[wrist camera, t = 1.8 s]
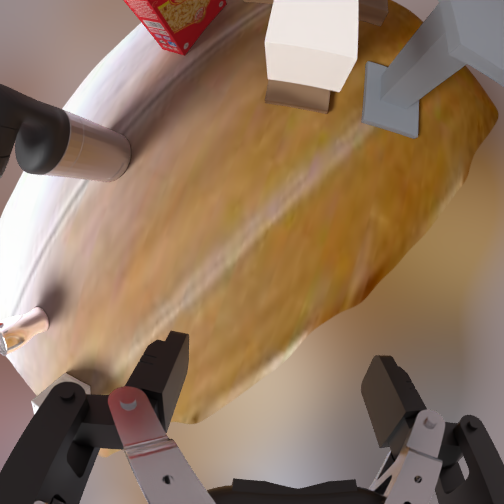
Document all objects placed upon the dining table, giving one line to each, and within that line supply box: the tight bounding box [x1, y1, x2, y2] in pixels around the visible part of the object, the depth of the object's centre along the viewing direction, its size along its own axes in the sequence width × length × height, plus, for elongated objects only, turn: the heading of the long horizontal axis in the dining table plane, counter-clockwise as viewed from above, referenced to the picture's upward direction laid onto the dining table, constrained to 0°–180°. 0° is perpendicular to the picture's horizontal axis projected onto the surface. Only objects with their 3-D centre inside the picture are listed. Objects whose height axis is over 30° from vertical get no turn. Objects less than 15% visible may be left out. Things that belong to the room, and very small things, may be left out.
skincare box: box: [32, 373, 91, 414], centre depth 46 cm, size 8×6×15 cm
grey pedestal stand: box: [361, 0, 504, 139], centre depth 25 cm, size 14×10×30 cm
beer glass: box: [0, 307, 49, 356], centre depth 45 cm, size 7×7×15 cm
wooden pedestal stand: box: [244, 0, 388, 114], centre depth 26 cm, size 14×10×30 cm
